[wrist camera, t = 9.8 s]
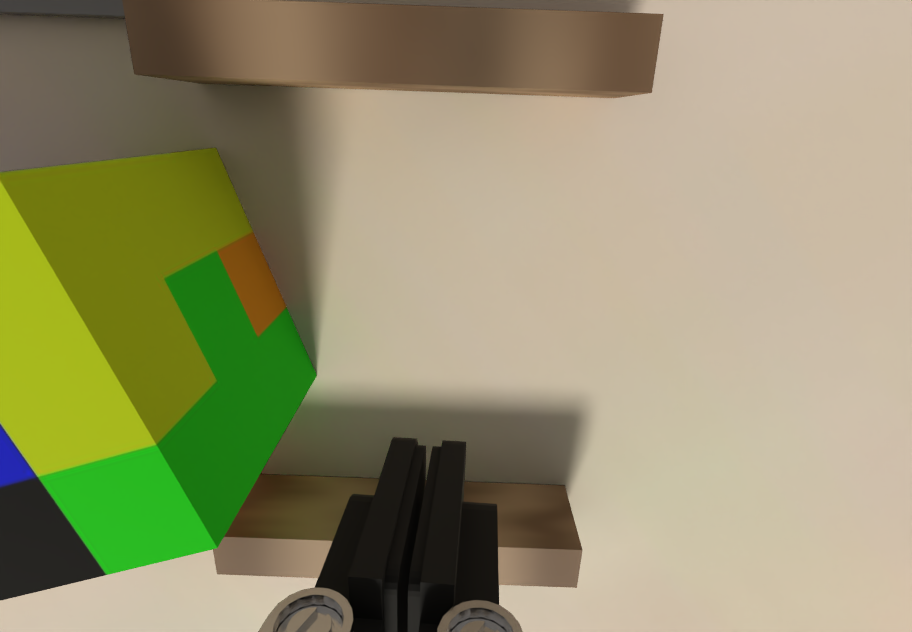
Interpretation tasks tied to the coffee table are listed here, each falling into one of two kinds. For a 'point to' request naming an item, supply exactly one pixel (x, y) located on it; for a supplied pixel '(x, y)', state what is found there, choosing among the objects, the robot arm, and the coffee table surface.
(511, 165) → the coffee table surface
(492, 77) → the chute
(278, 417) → the puzzle toy
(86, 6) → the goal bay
